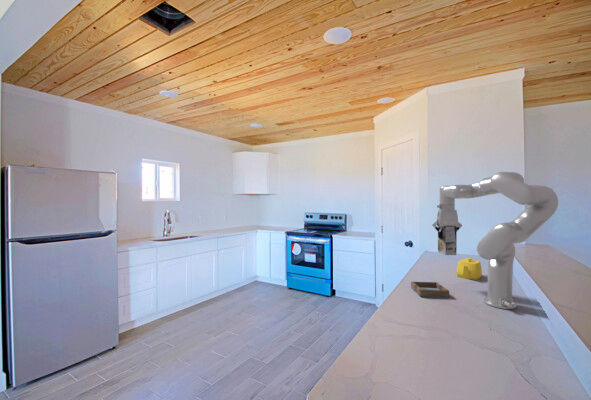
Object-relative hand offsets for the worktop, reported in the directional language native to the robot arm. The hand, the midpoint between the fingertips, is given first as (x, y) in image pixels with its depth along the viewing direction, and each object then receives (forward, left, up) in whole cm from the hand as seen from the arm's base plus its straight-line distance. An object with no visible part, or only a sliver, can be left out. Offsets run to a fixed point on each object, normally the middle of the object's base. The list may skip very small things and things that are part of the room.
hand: (447, 238), depth 157 cm
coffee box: (0, 0, -9) cm, 9 cm away
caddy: (-11, +14, -27) cm, 33 cm away
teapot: (+20, -23, -28) cm, 41 cm away
